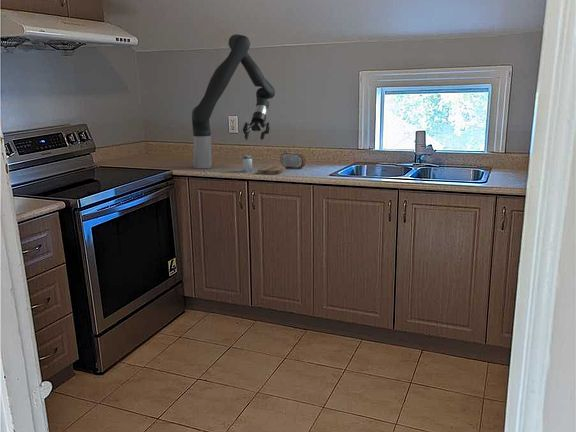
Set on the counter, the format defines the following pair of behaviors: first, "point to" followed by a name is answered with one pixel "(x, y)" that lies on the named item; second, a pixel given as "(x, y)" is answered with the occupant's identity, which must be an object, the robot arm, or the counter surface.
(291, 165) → the tin
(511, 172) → the counter surface
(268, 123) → the robot arm
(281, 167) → the walnut board
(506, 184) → the counter surface
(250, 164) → the jar
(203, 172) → the counter surface
